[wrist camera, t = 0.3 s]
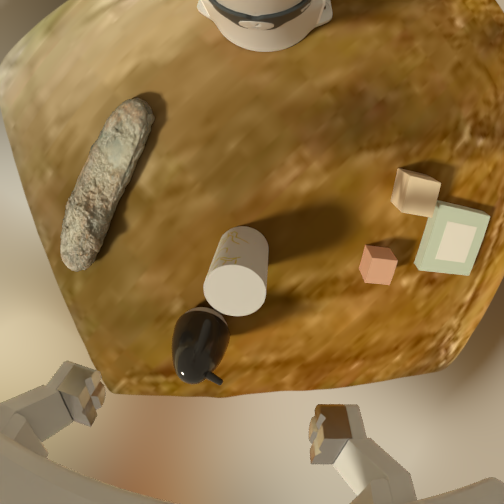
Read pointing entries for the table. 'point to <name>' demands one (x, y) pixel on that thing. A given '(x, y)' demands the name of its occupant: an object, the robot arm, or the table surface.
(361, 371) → the table surface
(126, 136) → the elongated rock
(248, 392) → the table surface
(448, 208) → the sage base
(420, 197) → the beech block
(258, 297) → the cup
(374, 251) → the terracotta block
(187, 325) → the pump dispenser
